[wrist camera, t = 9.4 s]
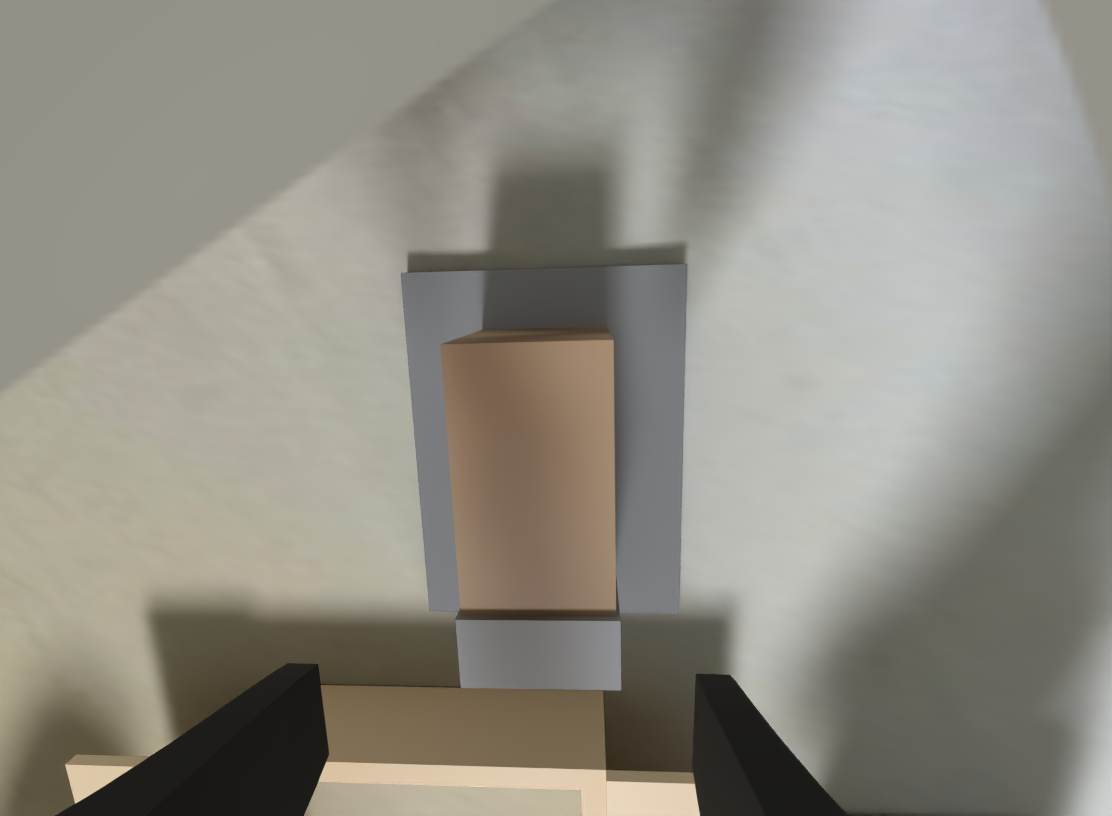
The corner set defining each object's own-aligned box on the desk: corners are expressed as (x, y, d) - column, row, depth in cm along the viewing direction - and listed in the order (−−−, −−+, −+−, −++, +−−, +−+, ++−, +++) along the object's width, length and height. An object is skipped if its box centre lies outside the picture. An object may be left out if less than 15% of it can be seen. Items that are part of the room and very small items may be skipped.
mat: (683, 264, 17) (687, 263, 16) (676, 604, 20) (679, 613, 19) (406, 273, 18) (400, 272, 17) (434, 602, 20) (429, 611, 20)
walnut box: (609, 326, 17) (618, 340, 12) (612, 583, 19) (621, 690, 14) (478, 329, 17) (433, 345, 12) (494, 583, 19) (460, 687, 14)
